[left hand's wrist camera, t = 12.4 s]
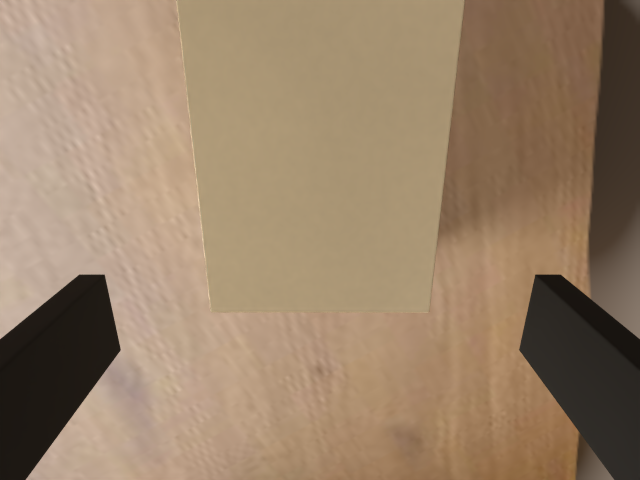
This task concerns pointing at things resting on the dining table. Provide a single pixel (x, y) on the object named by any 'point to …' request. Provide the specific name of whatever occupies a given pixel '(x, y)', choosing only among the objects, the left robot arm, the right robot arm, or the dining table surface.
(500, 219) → the dining table surface
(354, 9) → the cabinet
